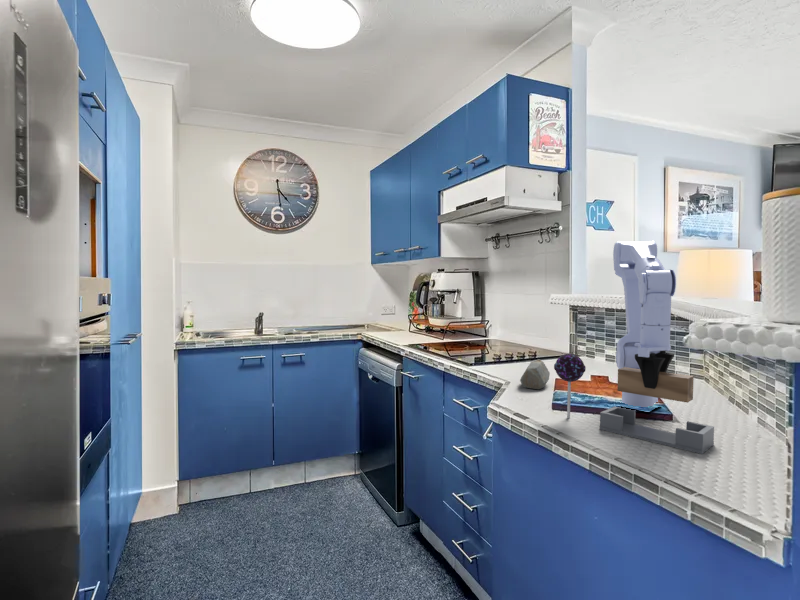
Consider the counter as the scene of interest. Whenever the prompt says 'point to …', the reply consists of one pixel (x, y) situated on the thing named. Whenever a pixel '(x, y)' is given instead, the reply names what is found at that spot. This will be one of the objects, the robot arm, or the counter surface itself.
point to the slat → (666, 388)
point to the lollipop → (569, 372)
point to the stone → (535, 375)
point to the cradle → (658, 431)
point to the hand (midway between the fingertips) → (653, 386)
